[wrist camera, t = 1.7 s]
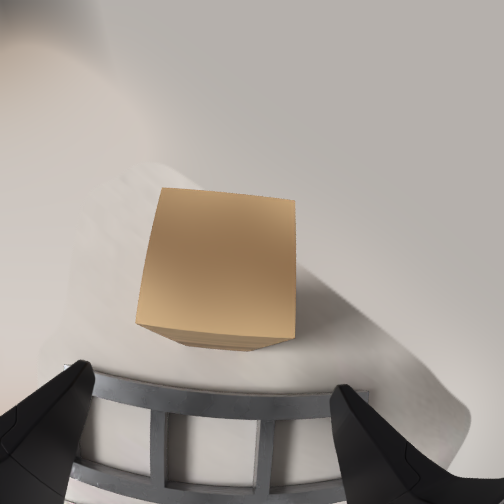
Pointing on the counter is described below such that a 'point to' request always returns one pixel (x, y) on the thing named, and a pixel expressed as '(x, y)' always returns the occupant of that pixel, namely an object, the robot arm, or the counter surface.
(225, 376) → the counter surface
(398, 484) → the robot arm
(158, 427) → the rail plate
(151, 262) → the oak block
